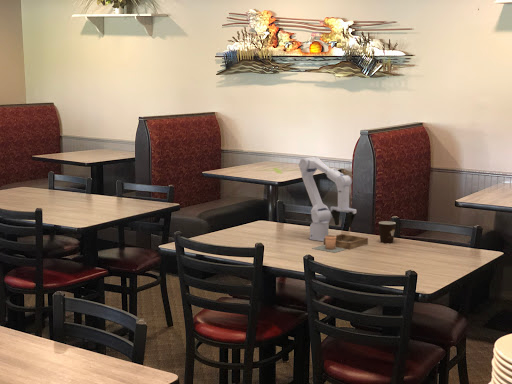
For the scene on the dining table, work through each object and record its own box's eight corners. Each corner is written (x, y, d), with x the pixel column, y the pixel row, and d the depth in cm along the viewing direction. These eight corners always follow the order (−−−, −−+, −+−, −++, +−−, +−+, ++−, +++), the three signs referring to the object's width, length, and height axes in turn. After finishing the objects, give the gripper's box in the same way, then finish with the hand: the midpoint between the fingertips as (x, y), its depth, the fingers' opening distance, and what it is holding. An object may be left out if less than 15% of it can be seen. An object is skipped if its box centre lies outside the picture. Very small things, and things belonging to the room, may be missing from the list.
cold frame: (323, 244, 344) (323, 238, 344) (341, 239, 356) (341, 233, 356) (350, 249, 334) (350, 243, 333) (367, 243, 346) (367, 237, 345)
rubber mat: (312, 248, 336) (312, 248, 336) (322, 245, 342) (322, 245, 342) (335, 252, 326) (335, 252, 326) (346, 249, 333) (346, 249, 333)
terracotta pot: (322, 248, 335) (322, 236, 334) (329, 246, 339) (329, 234, 338) (331, 250, 331) (332, 238, 330) (338, 248, 335) (338, 236, 334)
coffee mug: (382, 244, 344) (383, 224, 343) (375, 240, 352) (375, 221, 351) (403, 242, 347) (404, 223, 346) (395, 239, 355) (396, 220, 354)
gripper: (327, 199, 344) (326, 225, 345) (351, 201, 334) (350, 229, 336) (335, 197, 349) (334, 223, 351) (359, 200, 339) (358, 226, 341)
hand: (343, 226), depth 344 cm, fingers open, 7 cm apart
